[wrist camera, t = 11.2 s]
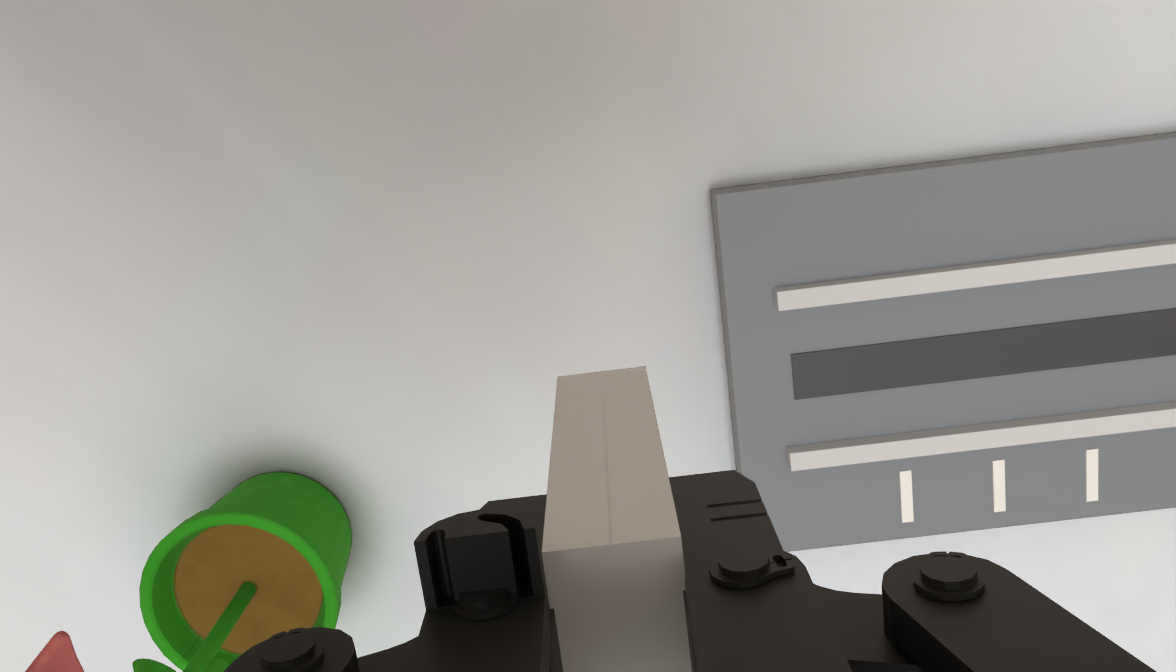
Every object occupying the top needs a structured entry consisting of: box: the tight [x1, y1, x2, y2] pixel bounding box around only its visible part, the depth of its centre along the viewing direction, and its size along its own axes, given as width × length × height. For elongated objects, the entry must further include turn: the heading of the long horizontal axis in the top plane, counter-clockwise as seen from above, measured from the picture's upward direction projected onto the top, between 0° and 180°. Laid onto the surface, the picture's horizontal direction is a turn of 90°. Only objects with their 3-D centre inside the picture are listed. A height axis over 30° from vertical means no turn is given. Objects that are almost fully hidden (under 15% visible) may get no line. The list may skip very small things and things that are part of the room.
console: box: [710, 132, 1176, 552], centre depth 42 cm, size 16×30×3 cm, turn 97°
